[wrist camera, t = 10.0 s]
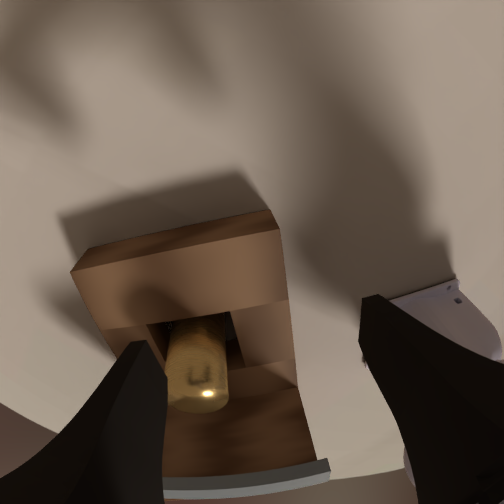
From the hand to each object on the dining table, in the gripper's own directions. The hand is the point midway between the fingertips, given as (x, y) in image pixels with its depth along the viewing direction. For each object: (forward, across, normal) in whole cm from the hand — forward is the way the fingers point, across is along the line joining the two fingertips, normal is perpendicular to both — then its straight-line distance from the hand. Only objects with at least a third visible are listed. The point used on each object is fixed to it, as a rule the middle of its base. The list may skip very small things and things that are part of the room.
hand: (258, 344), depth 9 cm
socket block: (+9, +4, +6) cm, 12 cm away
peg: (+9, +4, +6) cm, 12 cm away
